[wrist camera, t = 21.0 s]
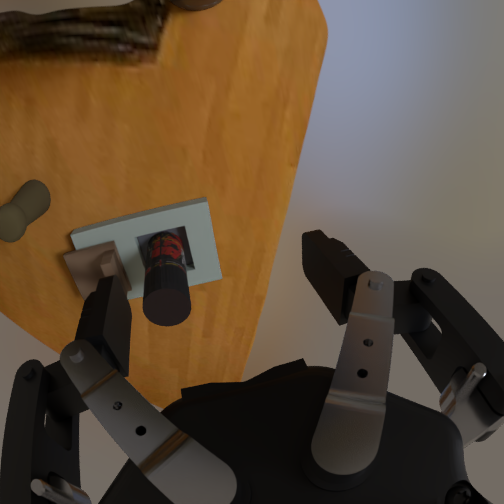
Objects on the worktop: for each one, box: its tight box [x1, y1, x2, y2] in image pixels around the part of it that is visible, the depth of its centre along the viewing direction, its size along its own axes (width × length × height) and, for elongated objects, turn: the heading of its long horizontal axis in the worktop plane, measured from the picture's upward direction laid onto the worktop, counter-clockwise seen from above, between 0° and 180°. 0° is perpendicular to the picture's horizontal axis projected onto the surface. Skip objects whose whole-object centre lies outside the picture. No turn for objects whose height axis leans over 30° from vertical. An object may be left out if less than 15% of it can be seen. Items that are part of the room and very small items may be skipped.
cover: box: [63, 241, 132, 301], centre depth 42 cm, size 9×9×5 cm
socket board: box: [70, 197, 222, 300], centre depth 46 cm, size 14×22×2 cm, turn 97°
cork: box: [0, 180, 51, 242], centre depth 33 cm, size 6×6×11 cm
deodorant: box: [143, 231, 191, 326], centre depth 41 cm, size 6×6×15 cm
